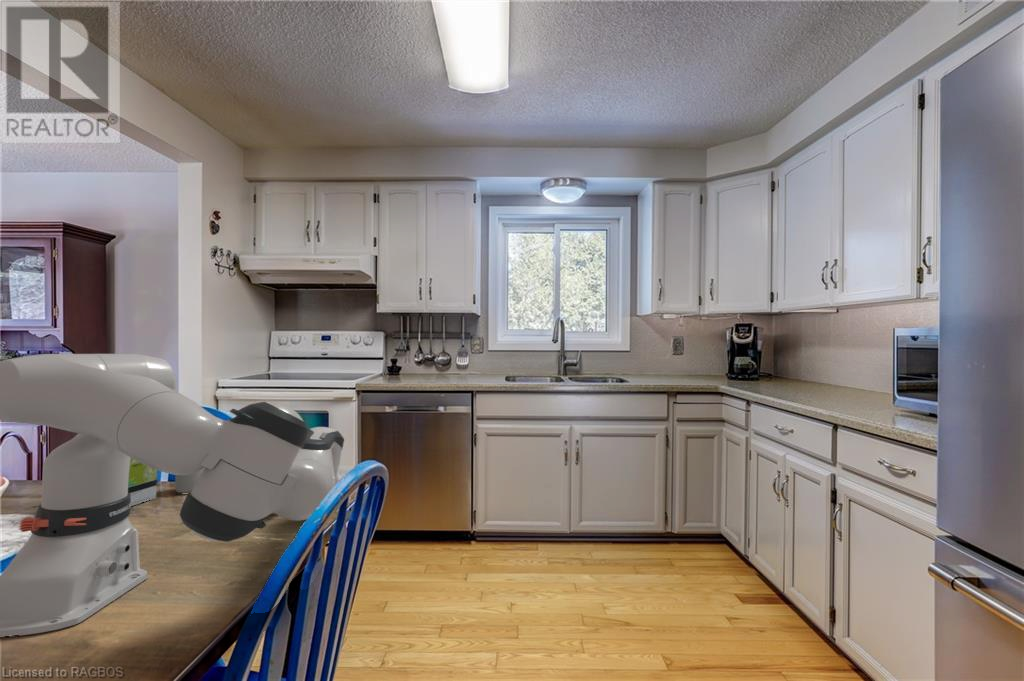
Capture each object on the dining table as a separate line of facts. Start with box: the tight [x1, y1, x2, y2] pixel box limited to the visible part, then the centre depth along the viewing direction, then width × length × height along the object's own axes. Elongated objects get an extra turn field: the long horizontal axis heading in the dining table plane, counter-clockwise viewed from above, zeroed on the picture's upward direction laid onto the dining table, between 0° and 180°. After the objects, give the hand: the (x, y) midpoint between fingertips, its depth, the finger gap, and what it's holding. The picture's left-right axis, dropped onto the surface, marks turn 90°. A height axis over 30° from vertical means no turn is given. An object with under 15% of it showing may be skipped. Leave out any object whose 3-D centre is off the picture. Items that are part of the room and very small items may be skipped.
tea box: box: [128, 458, 159, 507], centre depth 120 cm, size 15×10×15 cm, turn 171°
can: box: [174, 468, 204, 494], centre depth 134 cm, size 8×8×12 cm
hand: (252, 476), depth 125 cm, fingers closed
